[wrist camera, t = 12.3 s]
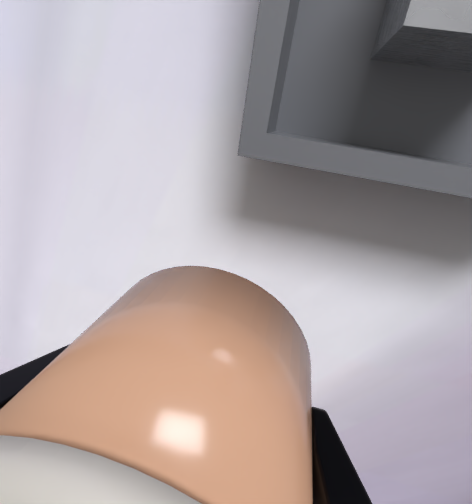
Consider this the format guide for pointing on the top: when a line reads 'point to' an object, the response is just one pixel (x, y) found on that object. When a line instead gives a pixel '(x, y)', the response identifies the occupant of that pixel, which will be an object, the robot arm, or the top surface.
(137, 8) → the top surface
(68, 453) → the ceramic canister
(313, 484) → the robot arm
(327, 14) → the tote
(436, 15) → the steel block
